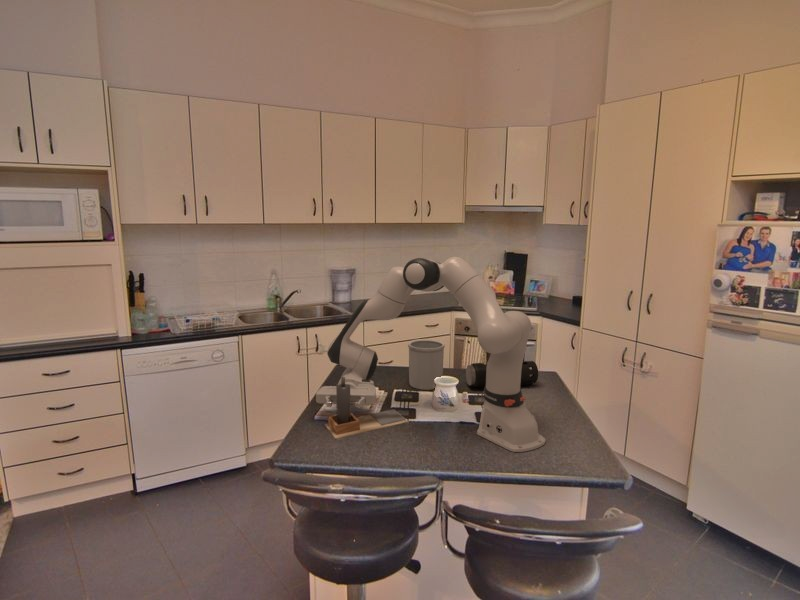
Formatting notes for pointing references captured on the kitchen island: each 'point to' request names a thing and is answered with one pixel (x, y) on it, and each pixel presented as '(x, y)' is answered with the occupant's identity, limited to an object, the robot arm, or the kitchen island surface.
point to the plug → (343, 402)
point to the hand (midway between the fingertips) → (343, 405)
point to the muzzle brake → (478, 374)
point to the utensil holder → (425, 362)
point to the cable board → (364, 423)
